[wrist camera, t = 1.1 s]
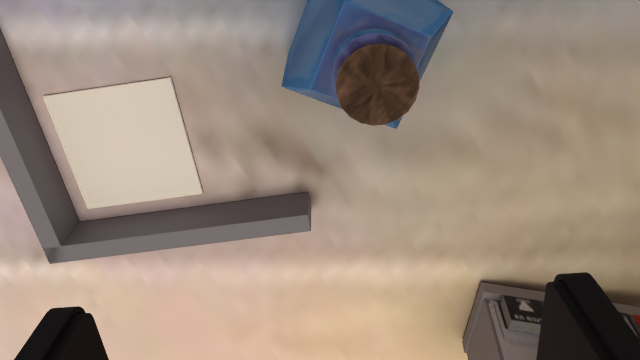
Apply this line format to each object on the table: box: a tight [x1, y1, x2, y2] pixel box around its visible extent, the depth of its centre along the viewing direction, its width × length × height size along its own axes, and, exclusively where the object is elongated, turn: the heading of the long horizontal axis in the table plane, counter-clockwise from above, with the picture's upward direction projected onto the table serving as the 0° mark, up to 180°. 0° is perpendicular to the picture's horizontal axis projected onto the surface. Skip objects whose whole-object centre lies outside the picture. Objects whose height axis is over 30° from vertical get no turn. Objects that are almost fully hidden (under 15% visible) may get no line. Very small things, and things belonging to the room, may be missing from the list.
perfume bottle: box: [282, 0, 453, 129], centre depth 25 cm, size 6×6×12 cm
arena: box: [0, 30, 311, 264], centre depth 32 cm, size 17×15×3 cm
